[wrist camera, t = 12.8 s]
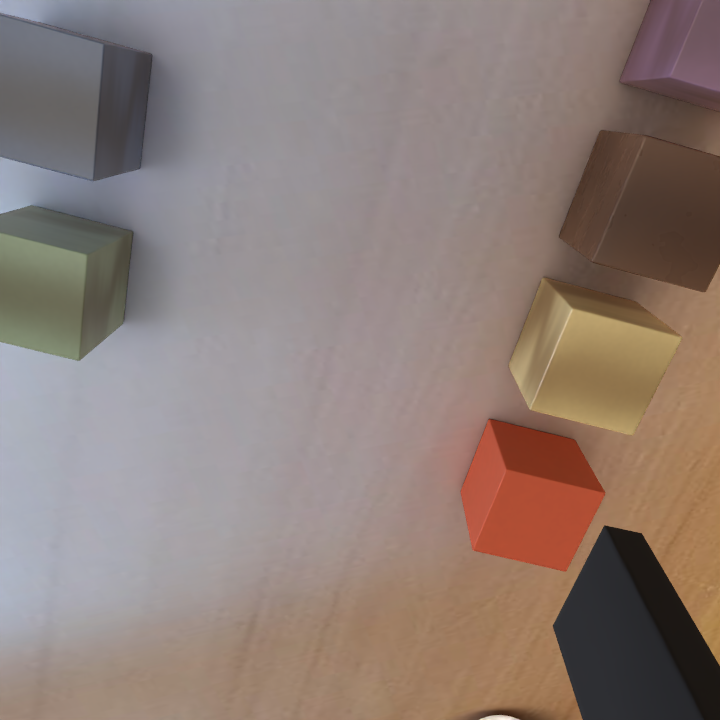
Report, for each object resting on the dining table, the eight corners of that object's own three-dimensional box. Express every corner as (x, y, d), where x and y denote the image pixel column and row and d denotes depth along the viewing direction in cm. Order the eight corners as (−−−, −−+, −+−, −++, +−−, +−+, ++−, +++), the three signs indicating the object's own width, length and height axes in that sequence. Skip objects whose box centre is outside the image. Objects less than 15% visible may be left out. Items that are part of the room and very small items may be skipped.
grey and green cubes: (38, 21, 26) (-36, 4, 21) (152, 54, 26) (104, 43, 22) (27, 300, 31) (-35, 334, 26) (123, 324, 31) (79, 361, 27)
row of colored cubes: (669, -50, 24) (737, -86, 20) (783, -15, 25) (876, -42, 20) (507, 366, 32) (529, 410, 27) (597, 388, 32) (633, 436, 27)
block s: (488, 418, 33) (506, 469, 28) (574, 439, 33) (606, 493, 29) (460, 491, 35) (472, 550, 30) (542, 510, 35) (566, 572, 31)
